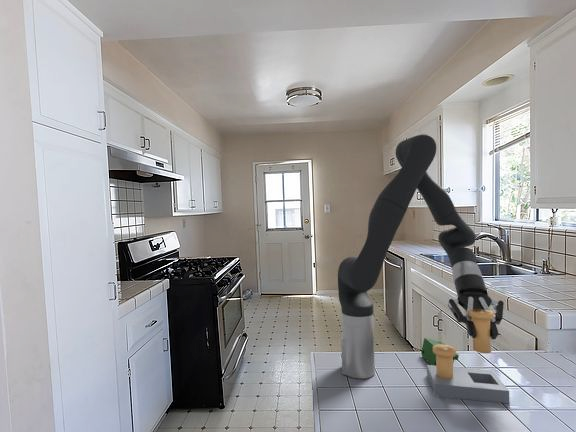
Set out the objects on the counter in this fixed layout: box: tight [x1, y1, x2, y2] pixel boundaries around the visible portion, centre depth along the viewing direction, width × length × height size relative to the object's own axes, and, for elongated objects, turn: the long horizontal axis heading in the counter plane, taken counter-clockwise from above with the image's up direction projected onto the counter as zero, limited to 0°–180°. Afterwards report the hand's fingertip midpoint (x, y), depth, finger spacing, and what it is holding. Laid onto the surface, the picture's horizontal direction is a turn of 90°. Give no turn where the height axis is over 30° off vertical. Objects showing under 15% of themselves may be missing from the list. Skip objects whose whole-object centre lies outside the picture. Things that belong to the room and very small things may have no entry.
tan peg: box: [469, 309, 495, 354], centre depth 84 cm, size 6×6×10 cm
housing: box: [426, 344, 510, 404], centre depth 85 cm, size 16×11×10 cm, turn 77°
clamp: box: [420, 337, 460, 366], centre depth 100 cm, size 12×6×9 cm, turn 175°
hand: (484, 337), depth 82 cm, fingers closed on tan peg, 4 cm apart
